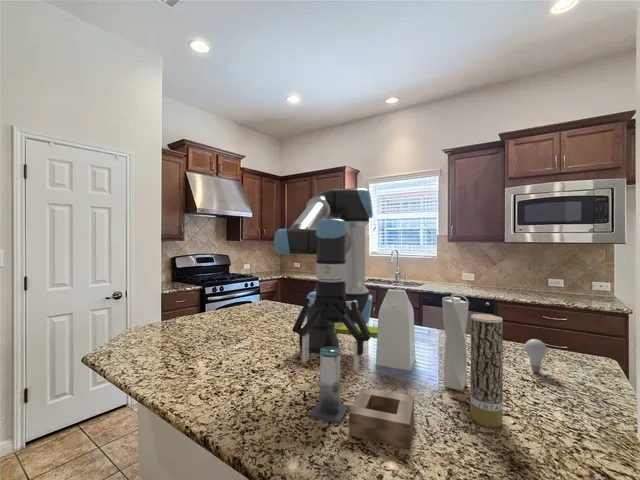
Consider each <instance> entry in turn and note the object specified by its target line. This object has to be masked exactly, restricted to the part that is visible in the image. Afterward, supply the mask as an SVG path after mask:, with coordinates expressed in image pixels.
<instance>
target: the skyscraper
mask: <svg viewBox="0 0 640 480" xmlns="http://www.w3.org/2000/svg"><path fill="white" fill-rule="evenodd" d="M461 298H463V299H465V300H462V299H461ZM469 303H470V302H469V299H468V298H467V297H466V296H465V295H463V294H459V293H456V294H455V293H454V294H451V295H450V296H444V297H442V321H443V327H444V328H443V329H444V335H445V340H444V354H443V358H444V359H443V383H444V384H443V385H444V387H445V388H449V389H454V390H458V391H461V392H464V390H465V389H464V388H465V386H466V385H467V368H468V363H467V360H468V359H467V345H466V344H467V343H466V338H465V337H466V336H465V334H466V329H467V325H468V324H467V323H468V315H469Z"/></svg>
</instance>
